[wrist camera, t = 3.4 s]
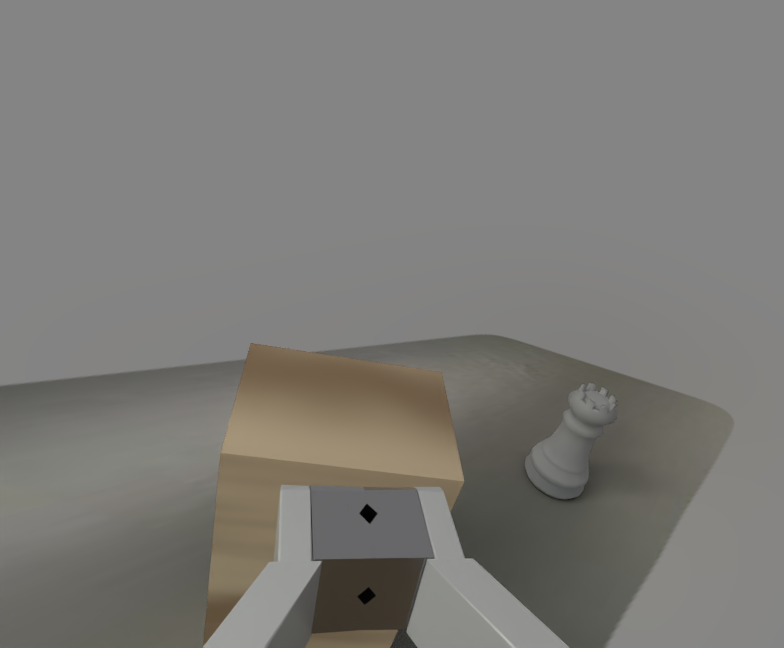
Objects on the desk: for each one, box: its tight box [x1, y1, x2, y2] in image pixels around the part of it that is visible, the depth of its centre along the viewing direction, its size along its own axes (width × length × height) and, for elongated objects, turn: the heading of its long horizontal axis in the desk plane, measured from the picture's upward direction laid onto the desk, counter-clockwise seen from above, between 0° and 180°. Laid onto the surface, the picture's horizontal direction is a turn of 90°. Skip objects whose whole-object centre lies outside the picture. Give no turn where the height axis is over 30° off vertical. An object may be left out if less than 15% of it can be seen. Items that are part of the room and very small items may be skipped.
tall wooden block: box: [203, 343, 464, 648], centre depth 21 cm, size 5×7×16 cm
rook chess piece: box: [525, 383, 617, 499], centre depth 38 cm, size 4×4×8 cm
